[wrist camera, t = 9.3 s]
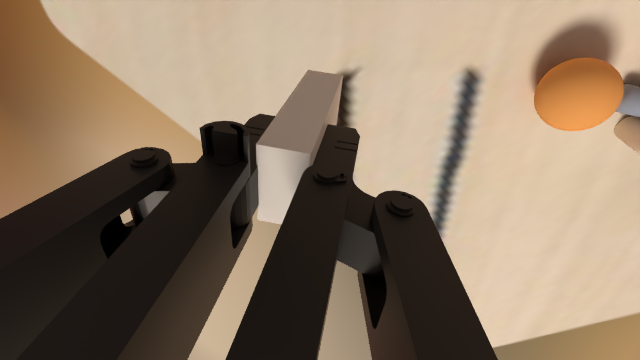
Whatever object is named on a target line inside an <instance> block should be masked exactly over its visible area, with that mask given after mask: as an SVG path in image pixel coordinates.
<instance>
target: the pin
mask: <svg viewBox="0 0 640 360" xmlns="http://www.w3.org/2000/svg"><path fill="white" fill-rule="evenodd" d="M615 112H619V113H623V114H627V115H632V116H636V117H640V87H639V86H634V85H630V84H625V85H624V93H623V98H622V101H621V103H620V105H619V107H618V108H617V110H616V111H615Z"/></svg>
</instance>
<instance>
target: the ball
mask: <svg viewBox="0 0 640 360" xmlns="http://www.w3.org/2000/svg"><path fill="white" fill-rule="evenodd" d="M623 93H624V84H623V80H622V77H621V75H620V74H619V72H618V71H617V70H616V69H615V68H614V67H613V66H612V65H610V64H609V63H607V62H605V61H603V60H600V59H596V58H588V57H587V58H575V59H571V60H568V61H565V62H562V63H560V64H558V65H557V66H555V67H553V68H552V69H551V70H549V71H548V72H547V73H546V74H545V75H544V76H543V77H542V79H541V80H540V82H539V83H538V85H537V88H536V90H535V95H534V105H535V109H536V111H537V113H538V115H539V116H540V118H541V119H542V120H543V121H544V122H545V123H547V124H548V125H550V126H552V127H554V128H556V129H560V130H565V131H579V130H585V129H589V128H592V127H595V126H597V125H599V124H601V123H602V122H604V121H605V120H607V119H608V118H609V117H610V116H611V115H612V114H613V113H614V112H615V111H616V110H617V108H618V107H619V105H620V103H621V101H622V98H623Z"/></svg>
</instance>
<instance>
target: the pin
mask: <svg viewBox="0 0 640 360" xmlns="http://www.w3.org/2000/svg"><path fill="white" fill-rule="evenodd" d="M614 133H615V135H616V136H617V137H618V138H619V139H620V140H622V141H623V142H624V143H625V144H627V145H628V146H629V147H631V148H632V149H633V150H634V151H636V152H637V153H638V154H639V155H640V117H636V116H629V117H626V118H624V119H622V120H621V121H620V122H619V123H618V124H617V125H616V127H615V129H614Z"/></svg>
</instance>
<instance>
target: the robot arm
mask: <svg viewBox="0 0 640 360" xmlns="http://www.w3.org/2000/svg"><path fill="white" fill-rule="evenodd" d="M342 79H343V75H337V74H330V73H324V72H317V71H311V70H308V71H307V72H306V74H305V75H304V77H303V78H302V79H301V81H300V82H299V84H298V85H297V87H296V88H295V89H294V91H293V92H292V94H291V95H290V97H289V98H288V99H287V101H286V102H285V104H284V105H283V106H282V108H281V109H280V111H279V112H278V114H277V115H276V116H271V115H265V114H258V115H256V116H254V117H252V118H250V119H249V120H248V121H247V122H246V124H245V125H242V124H240V123H237V122H233V121H217V122H212V123H208V124H205V125H204V126H202V127H201V128H200V134H201V142H202V149H203V155H202V156H201V158H200V159H199V160H198V161H197V162H196V163H172V160H171V156H170V154H169V152H167V151H165V150H164V149H159V148H153V147H150V148H149V147H144V148H140V149H135V150H132V151H130V152H127V153H125V154H123V155H121V156H119V157H117V158H115V159H113V160H112V161H110V162H108V163H106V164H104V165H102V166H100V167H98V168H97V169H94V170H93V171H91V172H89V173H87V174H85V175H83V176H81V177H79V178H77V179H76V180H74V181H72V182H70V183H68V184H66V185H64V186H62V187H60V188H58V189H56V190H54V191H53V192H51V193H49V194H47V195H45V196H43V197H41V198H39V199H37V200H35V201H33V202H32V203H30V204H28V205H26V206H24V207H22V208H20V209H18V210H16V211H14V212H13V213H11V214H9V215H7V216H5V217H3V218H1V219H0V360H187V359H188V357H189V355H190V353H191V351H192V349H193V347H194V345H195V343H196V341H197V339H198V337H199V335H200V333H201V331H202V329H203V327H204V325H205V323H206V321H207V319H208V317H209V315H210V313H211V311H212V309H213V307H214V305H215V303H216V301H217V299H218V297H219V295H220V293H221V291H222V289H223V287H224V285H225V283H226V281H227V279H228V277H229V275H230V273H231V271H232V269H233V267H234V265H235V263H236V261H237V259H238V257H239V255H240V253H241V251H242V249H243V247H244V245H245V243H246V241H247V239H248V237H249V235H250V233H251V231H252V225H253V224H252V216H253V214H254V212H255V210H256V209H258V210H257V211H258V220H262V221H267V222H272V223H277V224H282V225H281V227H280V229H279V232H278V234H277V237H276V239H275V241H274V244H273V246H272V249H271V251H270V254H269V256H268V258H267V261H266V263H265V266H264V268H263V270H262V273H261V275H260V278H259V280H258V282H257V285H256V287H255V290H254V292H253V295H252V297H251V299H250V302H249V304H248V307H247V309H246V311H245V314H244V316H243V319H242V321H241V324H240V326H239V328H238V331H237V333H236V336H235V338H234V340H233V343H232V345H231V348H230V350H229V352H228V355H227V357H226V360H318V356H319V350H320V345H321V340H322V335H323V330H324V324H325V319H326V314H327V309H328V304H329V298H330V293H331V288H332V283H333V278H334V272H335V267H336V262H337V260H338V261H340V262H342V263H344V264H346V265H348V266H350V267H352V268H354V269H356V270H357V271H358V281H359V286H360V292H361V298H362V303H363V310H364V315H365V321H366V327H367V332H368V338H369V344H370V350H371V356H372V360H498V359H497V357H496V355H495V353H494V351H493V348H492V346H491V344H490V342H489V340H488V338H487V336H486V333H485V331H484V329H483V327H482V325H481V323H480V321H479V318H478V316H477V314H476V312H475V310H474V308H473V306H472V303H471V301H470V299H469V297H468V295H467V293H466V291H465V289H464V286H463V284H462V282H461V280H460V278H459V276H458V274H457V271H456V269H455V267H454V265H453V263H452V261H451V259H450V256H449V254H448V252H447V250H446V248H445V246H444V244H443V242H442V239H441V237H440V235H439V233H438V231H437V229H436V227H435V224H434V222H433V220H432V218H431V216H430V214H429V212H428V209H427V208H426V206H425V205H424V204H423V202H422V201H421V200H419V199H418V198H416V197H415V196H413V195H411V194H408V193H406V192H401V191H385V192H383V193H381V194H379V195H378V196H377V197H376V198H375V197H373V196H370V195H368V194H366V193H364V192H363V191H361V190H360V189H359V188H358V187H357V186H356V185H355V184H354V181H353V172H354V166H355V161H356V155H357V150H358V144H359V139H360V136H359V134H358V132H357V131H356V129H354V128H348V127H342V126H336V124H337V116H338V109H339V101H340V94H341V86H342ZM129 208H130V211H131V214H132V217H133V220H131V221H130V222H128V223H126V224H123V223H122V220H121V217H120V214H122V213H123V212H125V211H126V210H128V209H129Z"/></svg>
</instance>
